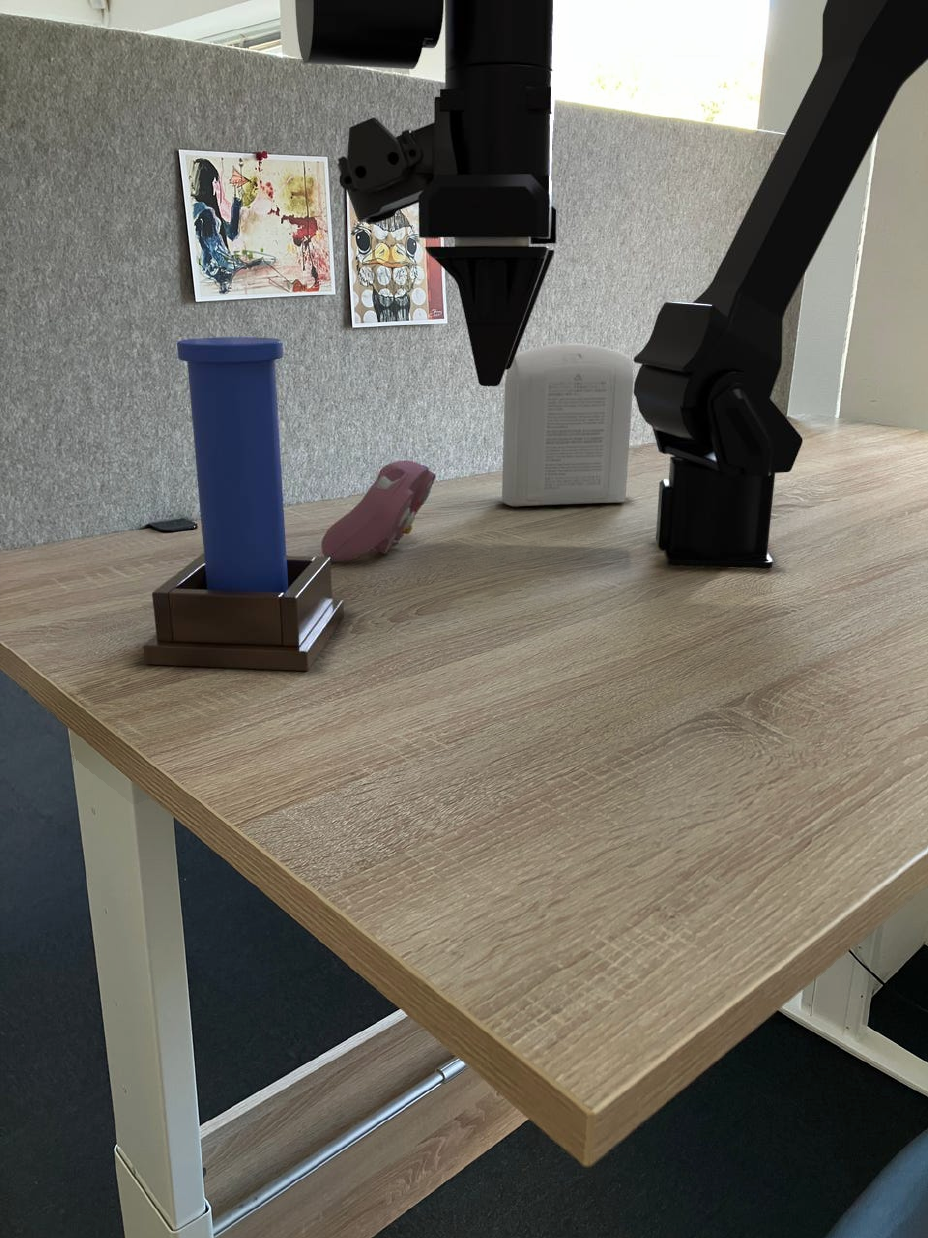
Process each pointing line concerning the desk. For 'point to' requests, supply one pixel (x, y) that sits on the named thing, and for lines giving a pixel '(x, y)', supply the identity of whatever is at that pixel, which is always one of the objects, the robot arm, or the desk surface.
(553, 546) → the desk surface
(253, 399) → the blue capped tube
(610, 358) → the photo printer
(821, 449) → the desk surface
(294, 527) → the desk surface
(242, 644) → the holder
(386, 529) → the pink shoe
